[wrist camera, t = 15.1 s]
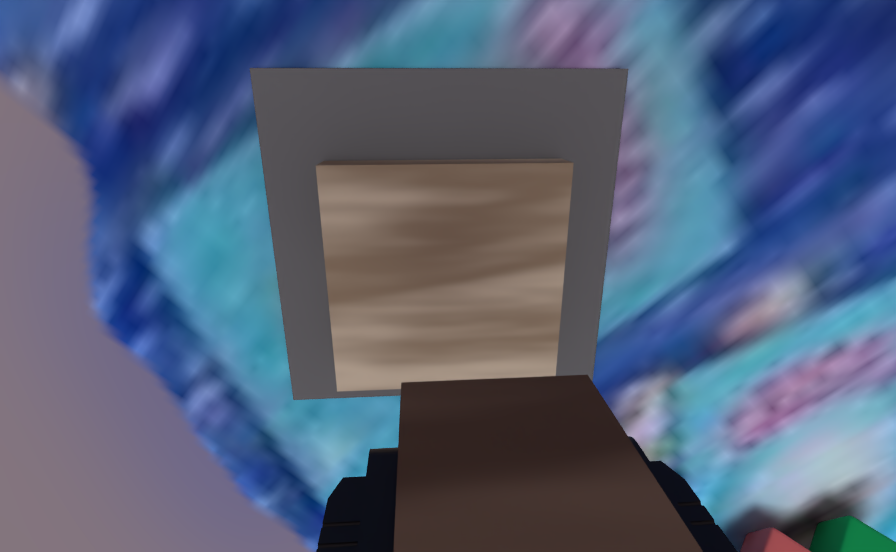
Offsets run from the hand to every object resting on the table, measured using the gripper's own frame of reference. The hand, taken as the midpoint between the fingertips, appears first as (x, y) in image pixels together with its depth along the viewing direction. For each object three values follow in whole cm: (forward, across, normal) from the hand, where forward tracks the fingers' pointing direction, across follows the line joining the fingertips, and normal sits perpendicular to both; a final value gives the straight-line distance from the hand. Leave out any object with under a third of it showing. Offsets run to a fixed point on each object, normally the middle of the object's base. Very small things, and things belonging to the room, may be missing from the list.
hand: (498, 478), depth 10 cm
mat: (+17, 0, 0) cm, 17 cm away
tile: (+16, 0, -5) cm, 16 cm away
